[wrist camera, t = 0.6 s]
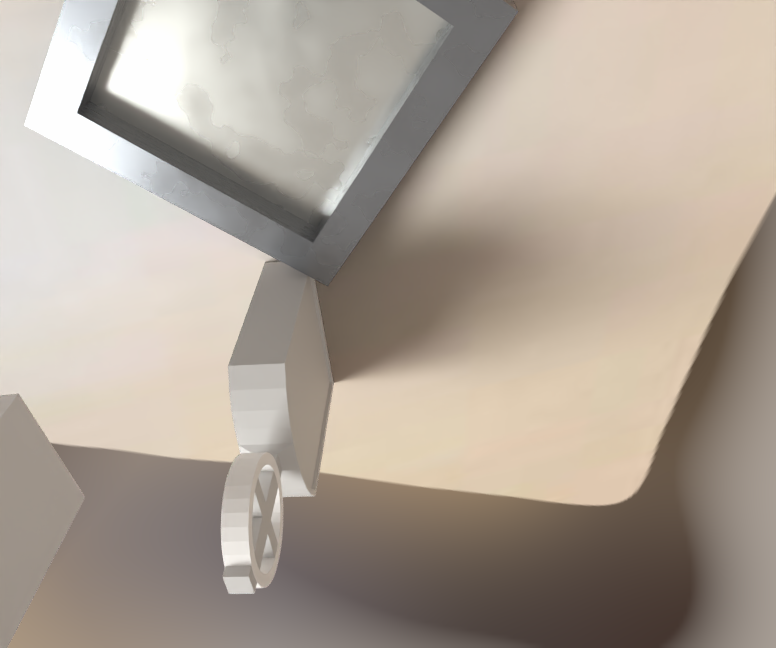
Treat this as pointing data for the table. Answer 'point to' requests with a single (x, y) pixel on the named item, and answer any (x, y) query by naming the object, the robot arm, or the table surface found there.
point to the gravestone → (273, 421)
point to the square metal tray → (263, 106)
